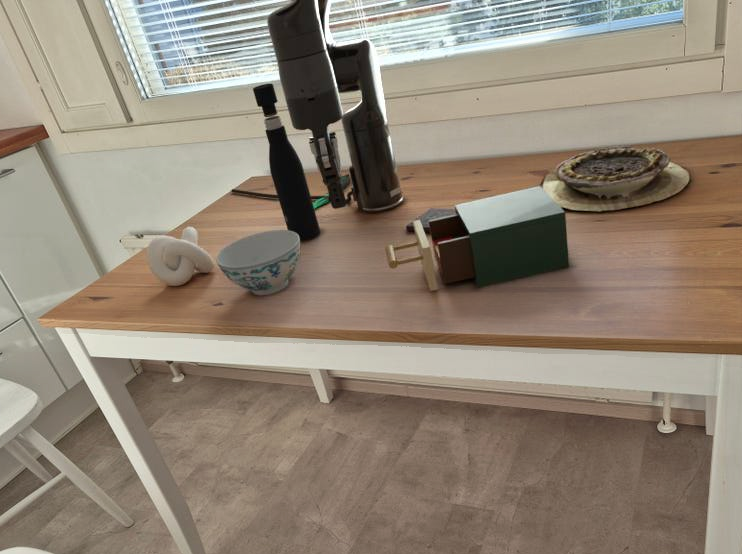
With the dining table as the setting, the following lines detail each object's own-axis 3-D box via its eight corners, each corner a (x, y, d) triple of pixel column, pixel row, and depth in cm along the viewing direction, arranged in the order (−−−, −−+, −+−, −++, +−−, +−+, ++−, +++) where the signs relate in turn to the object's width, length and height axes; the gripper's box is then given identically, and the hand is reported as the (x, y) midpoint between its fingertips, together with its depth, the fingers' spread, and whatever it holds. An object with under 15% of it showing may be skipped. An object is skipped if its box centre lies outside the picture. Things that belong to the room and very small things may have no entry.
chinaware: (273, 311, 113) (260, 269, 109) (213, 302, 121) (198, 263, 117) (327, 271, 123) (316, 231, 119) (267, 265, 131) (255, 228, 127)
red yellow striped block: (463, 270, 107) (460, 252, 106) (442, 275, 107) (439, 257, 106) (454, 252, 114) (452, 236, 112) (434, 257, 114) (431, 240, 112)
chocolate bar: (430, 208, 137) (509, 212, 127) (431, 212, 138) (510, 216, 127) (406, 225, 131) (486, 231, 121) (406, 230, 132) (487, 236, 122)
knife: (345, 173, 171) (362, 172, 169) (345, 176, 172) (362, 175, 170) (296, 209, 155) (315, 208, 152) (297, 212, 155) (316, 211, 153)
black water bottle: (326, 229, 142) (285, 79, 127) (310, 241, 137) (266, 88, 122) (301, 229, 145) (258, 83, 130) (284, 242, 140) (239, 92, 125)
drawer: (396, 298, 106) (386, 256, 102) (389, 267, 116) (380, 228, 113) (514, 272, 106) (509, 228, 102) (496, 243, 116) (491, 203, 112)
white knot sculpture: (168, 269, 140) (152, 229, 135) (224, 258, 139) (209, 217, 135) (154, 293, 130) (136, 250, 126) (214, 281, 130) (198, 237, 125)
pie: (702, 160, 133) (703, 134, 130) (669, 214, 114) (669, 186, 112) (565, 163, 148) (563, 140, 145) (516, 211, 129) (513, 186, 127)
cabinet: (477, 287, 106) (469, 233, 101) (462, 254, 117) (454, 205, 113) (569, 266, 105) (565, 211, 101) (544, 236, 117) (539, 185, 112)
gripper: (286, 87, 101) (316, 198, 109) (281, 103, 89) (315, 226, 98) (335, 76, 100) (361, 188, 109) (337, 90, 89) (365, 215, 98)
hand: (339, 206), depth 104 cm, fingers closed
